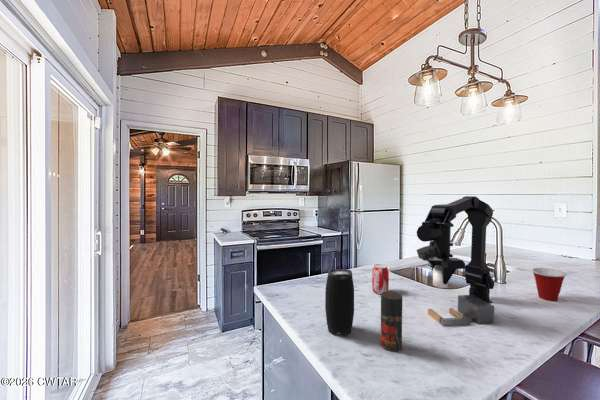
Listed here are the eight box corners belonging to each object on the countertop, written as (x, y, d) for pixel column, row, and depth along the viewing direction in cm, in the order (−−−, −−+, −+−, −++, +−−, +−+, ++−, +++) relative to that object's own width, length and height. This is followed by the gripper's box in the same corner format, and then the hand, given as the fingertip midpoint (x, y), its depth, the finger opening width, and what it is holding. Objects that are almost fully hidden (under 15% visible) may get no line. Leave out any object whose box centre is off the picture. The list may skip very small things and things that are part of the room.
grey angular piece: (468, 308, 104) (469, 292, 104) (494, 323, 92) (494, 306, 92) (422, 310, 102) (423, 294, 102) (442, 326, 90) (443, 308, 90)
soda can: (389, 295, 116) (389, 268, 116) (372, 294, 118) (372, 267, 117) (387, 290, 123) (387, 264, 123) (371, 289, 125) (371, 263, 124)
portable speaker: (320, 328, 89) (320, 269, 88) (342, 321, 94) (342, 265, 93) (337, 340, 81) (337, 276, 81) (359, 332, 86) (359, 271, 86)
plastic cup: (525, 296, 116) (526, 268, 116) (538, 292, 121) (539, 265, 120) (558, 305, 106) (558, 275, 106) (570, 301, 111) (571, 272, 110)
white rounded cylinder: (442, 283, 101) (443, 264, 101) (451, 288, 96) (451, 268, 96) (430, 283, 101) (430, 265, 101) (437, 288, 96) (438, 268, 96)
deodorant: (377, 340, 81) (377, 291, 81) (396, 339, 82) (396, 291, 81) (385, 352, 75) (385, 299, 75) (405, 351, 76) (406, 299, 75)
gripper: (408, 235, 107) (407, 274, 107) (434, 244, 88) (433, 291, 89) (435, 235, 108) (434, 273, 108) (466, 244, 89) (465, 290, 89)
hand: (440, 281), depth 99 cm, fingers closed on white rounded cylinder, 5 cm apart
